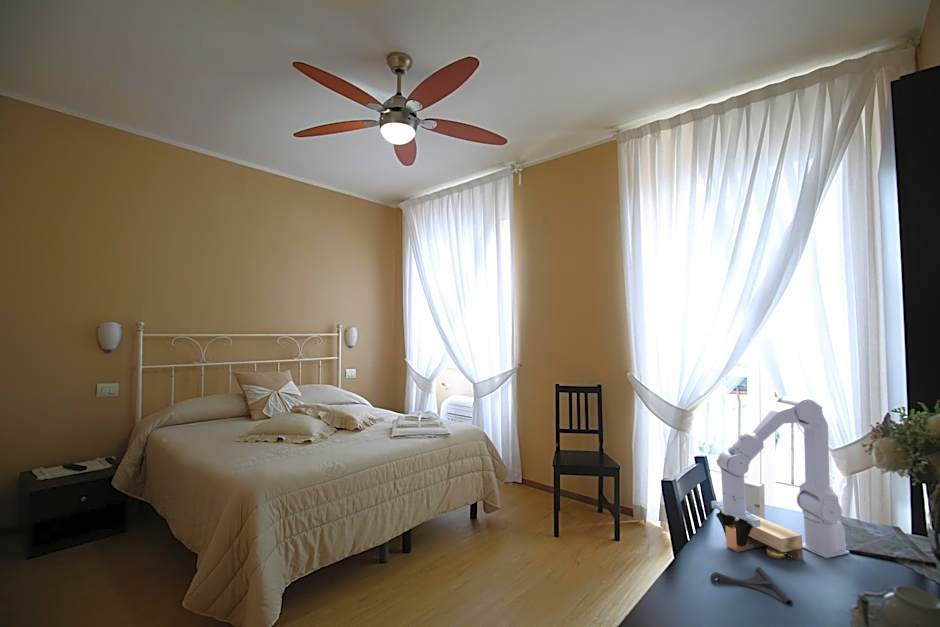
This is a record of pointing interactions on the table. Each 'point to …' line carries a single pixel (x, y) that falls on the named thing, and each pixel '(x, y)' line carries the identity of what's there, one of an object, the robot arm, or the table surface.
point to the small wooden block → (733, 542)
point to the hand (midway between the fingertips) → (735, 542)
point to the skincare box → (755, 498)
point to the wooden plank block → (778, 538)
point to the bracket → (755, 584)
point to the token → (774, 553)
